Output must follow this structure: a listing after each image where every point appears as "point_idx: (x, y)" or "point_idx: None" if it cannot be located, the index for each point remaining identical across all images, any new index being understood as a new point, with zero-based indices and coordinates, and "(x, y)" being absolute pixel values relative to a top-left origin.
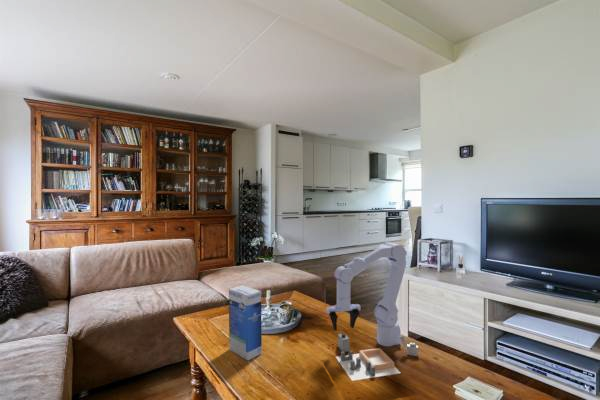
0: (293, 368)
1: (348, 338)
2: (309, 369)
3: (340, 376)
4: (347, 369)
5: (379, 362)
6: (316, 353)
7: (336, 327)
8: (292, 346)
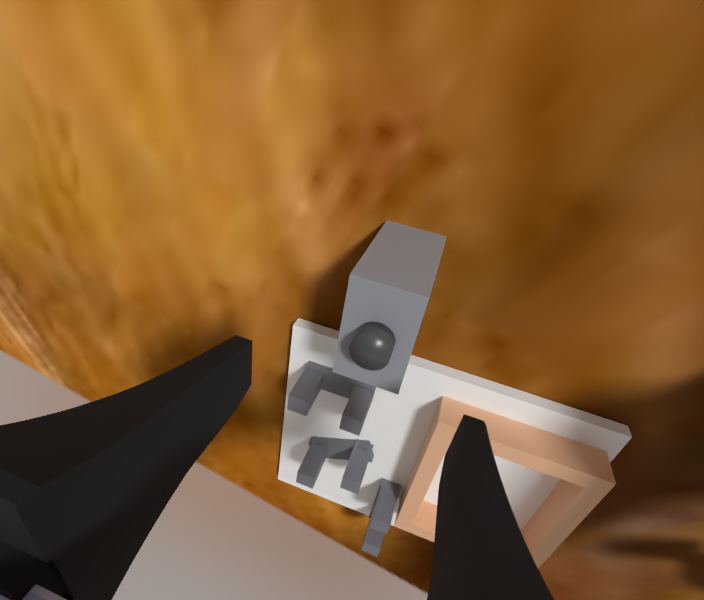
0: (69, 271)
1: (395, 385)
2: (140, 317)
3: (257, 424)
4: (297, 431)
5: None
6: (206, 203)
7: (226, 417)
8: (47, 2)
